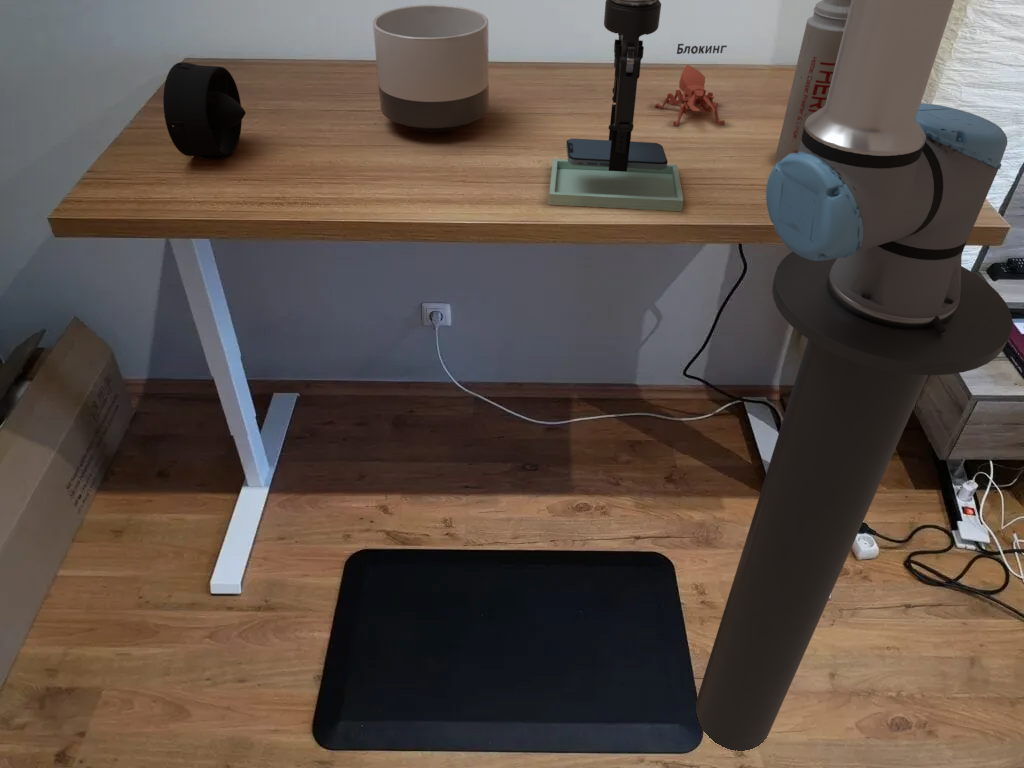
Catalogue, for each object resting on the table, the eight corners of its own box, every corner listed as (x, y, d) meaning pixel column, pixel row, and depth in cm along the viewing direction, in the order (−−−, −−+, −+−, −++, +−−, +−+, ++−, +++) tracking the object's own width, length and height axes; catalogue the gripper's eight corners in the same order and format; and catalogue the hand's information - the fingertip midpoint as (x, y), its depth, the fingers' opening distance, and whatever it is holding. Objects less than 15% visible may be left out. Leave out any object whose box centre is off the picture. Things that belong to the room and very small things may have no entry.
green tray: (681, 211, 121) (683, 200, 120) (548, 204, 122) (549, 193, 121) (675, 174, 131) (677, 164, 129) (552, 168, 132) (552, 158, 131)
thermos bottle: (819, 177, 130) (870, -9, 112) (770, 167, 133) (812, -16, 115) (827, 158, 136) (877, -22, 118) (779, 149, 139) (821, -28, 121)
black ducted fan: (218, 83, 119) (153, 80, 120) (238, 174, 129) (178, 171, 129) (251, 52, 130) (192, 49, 131) (268, 138, 140) (212, 135, 140)
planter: (361, 132, 142) (349, 27, 131) (416, 97, 156) (410, -2, 144) (457, 153, 136) (454, 44, 125) (506, 114, 149) (507, 13, 138)
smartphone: (669, 163, 120) (569, 158, 119) (667, 173, 121) (568, 168, 120) (662, 142, 125) (566, 136, 125) (660, 152, 126) (565, 147, 126)
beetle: (650, 101, 155) (659, 33, 147) (713, 100, 156) (725, 32, 148) (669, 132, 144) (680, 60, 136) (736, 130, 145) (751, 59, 137)
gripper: (666, 22, 100) (644, 190, 115) (657, -21, 116) (639, 132, 131) (606, 19, 101) (592, 187, 115) (605, -23, 116) (593, 129, 131)
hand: (617, 157), depth 123 cm, fingers closed on smartphone, 8 cm apart
